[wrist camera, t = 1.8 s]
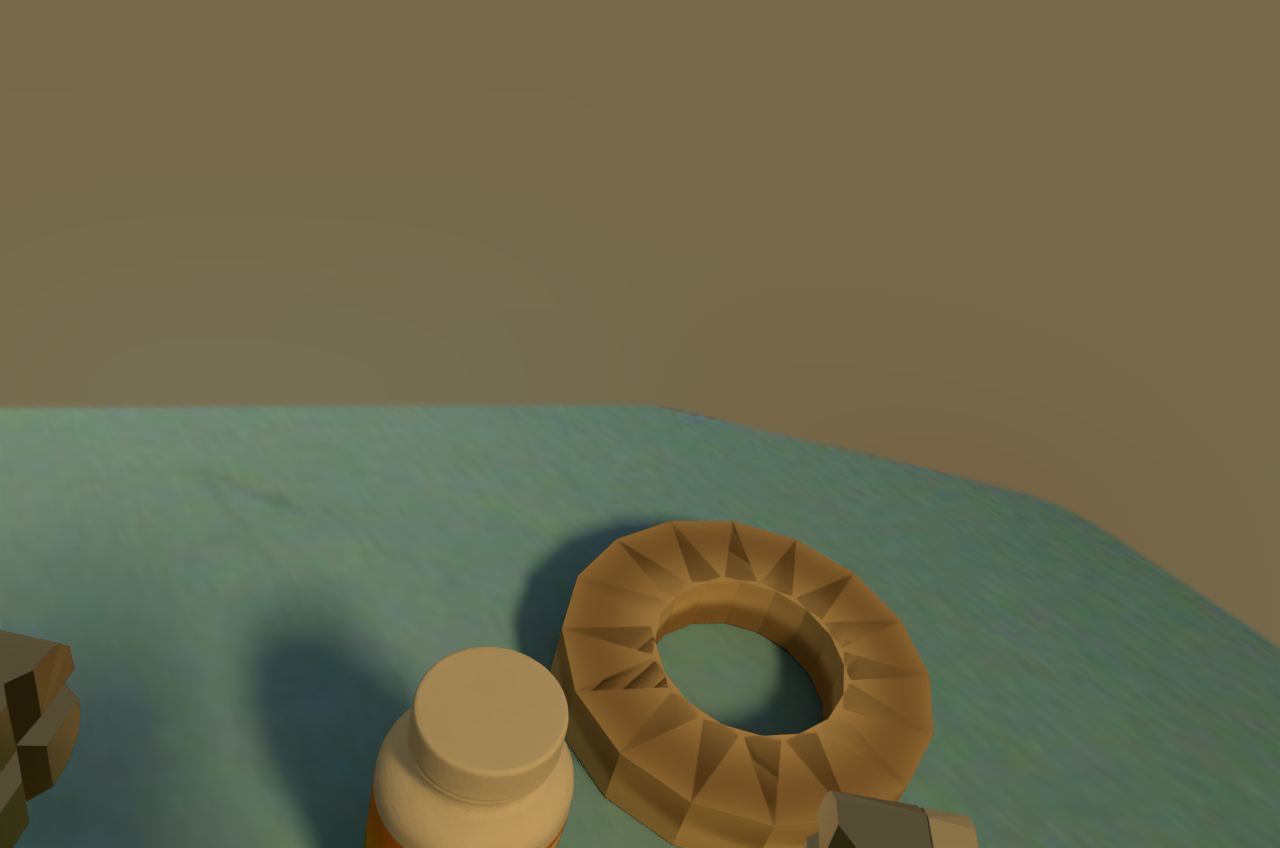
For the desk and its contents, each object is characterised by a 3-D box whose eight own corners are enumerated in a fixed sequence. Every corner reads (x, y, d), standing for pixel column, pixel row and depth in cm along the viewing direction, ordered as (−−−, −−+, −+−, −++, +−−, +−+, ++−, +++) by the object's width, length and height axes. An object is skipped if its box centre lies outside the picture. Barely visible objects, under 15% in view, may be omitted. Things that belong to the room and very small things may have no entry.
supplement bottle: (380, 807, 36) (410, 606, 30) (544, 837, 36) (604, 644, 30) (334, 973, 32) (358, 776, 26) (520, 1006, 32) (585, 818, 26)
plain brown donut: (511, 798, 37) (523, 754, 36) (593, 527, 48) (605, 484, 47) (913, 913, 37) (941, 874, 36) (902, 615, 48) (923, 575, 47)
